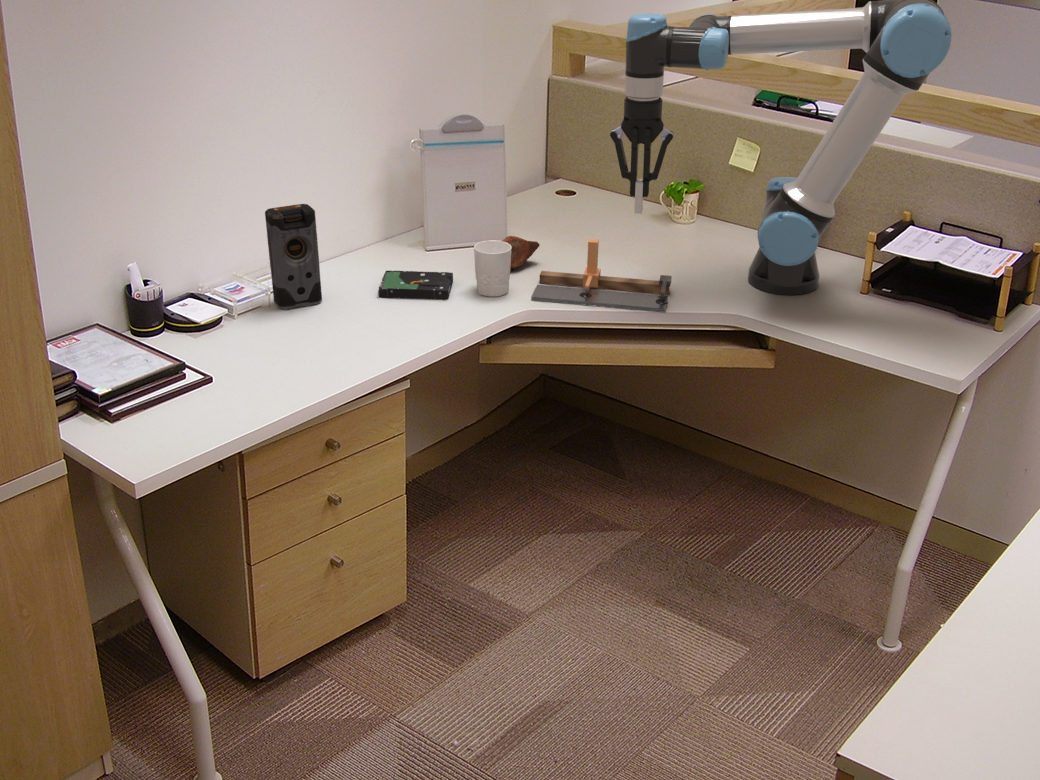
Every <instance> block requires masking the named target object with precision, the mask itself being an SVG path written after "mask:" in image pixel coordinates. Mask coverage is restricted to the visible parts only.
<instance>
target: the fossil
mask: <svg viewBox="0 0 1040 780" xmlns="http://www.w3.org/2000/svg"><path fill="white" fill-rule="evenodd" d="M501 241H503V242H506V243H508V244H510V245H511V247H512V249H511V267H510V269H517V268H519V267H520V266H522V265H523V264H524V263H526V262H527V261H528V260H529V259H530V258H531V257H532V256H533V254H534V253H535V252H536V251H537V250H538V248H539V247H540V243H539V242H538V241H532V240H526V239H524V238H521V237H520V236H519V237H518V236H515V235H508V236H506V237H505V238H504V239H501Z"/></svg>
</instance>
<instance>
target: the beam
mask: <svg viewBox="0 0 1040 780" xmlns="http://www.w3.org/2000/svg"><path fill="white" fill-rule="evenodd" d="M583 274H584V273H583ZM583 274H582V273H573V272H572V273H571V272H558V271H550V270H549V271H547V270H541V271H540V273H539V285H551V286H562V287H574V288H585V286H583ZM672 278H673V277H672V275H668V274H667V275H665V274H660V276H659V280H655V279H654V280H652V279H642V278H630V277H619V276H618V277H617V276H605V275H600V276H599V279H598V288H597V287H589V289H597V290H601V289H602V290H608V291H620V292H631V293H643V294H654V295H660V300H664V296H665V295H666V296H669V295H670V290H671V289H670V287H671V285H672Z"/></svg>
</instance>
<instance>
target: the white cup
mask: <svg viewBox="0 0 1040 780" xmlns="http://www.w3.org/2000/svg"><path fill="white" fill-rule="evenodd" d="M511 249H512V247H511V245H510V244H508V243H506V242H503V241H502V240H495V239H494V240H493V239H492V240H482V241H479V242H477V243H475V244H474V246H473V252H474V253H473V255H474V270H475V271H474V272H475V280H476V291H477V293H478V294H479V295H482V296H484V297H488V298H489V297H492V298H493V297H496V298H497V297H500V296H504V295H507V294H508V293H509V290H510V289H509V287H510V278H511V277H510V276H511V268H510V267H511Z"/></svg>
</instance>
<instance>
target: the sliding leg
mask: <svg viewBox="0 0 1040 780" xmlns="http://www.w3.org/2000/svg"><path fill="white" fill-rule="evenodd" d="M599 242H600V240H599V239H596V238H589V239H588V242H587V257H586V258H587V261H586V264H587V265H586V267H585V270H584V272H583V286H585V287H584V289H585V294H589V289H590V288H589V287H597V288H596V289H598V279H599V276H601V268H600V267H599V268H598V264H599V263H598V262H599Z"/></svg>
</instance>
